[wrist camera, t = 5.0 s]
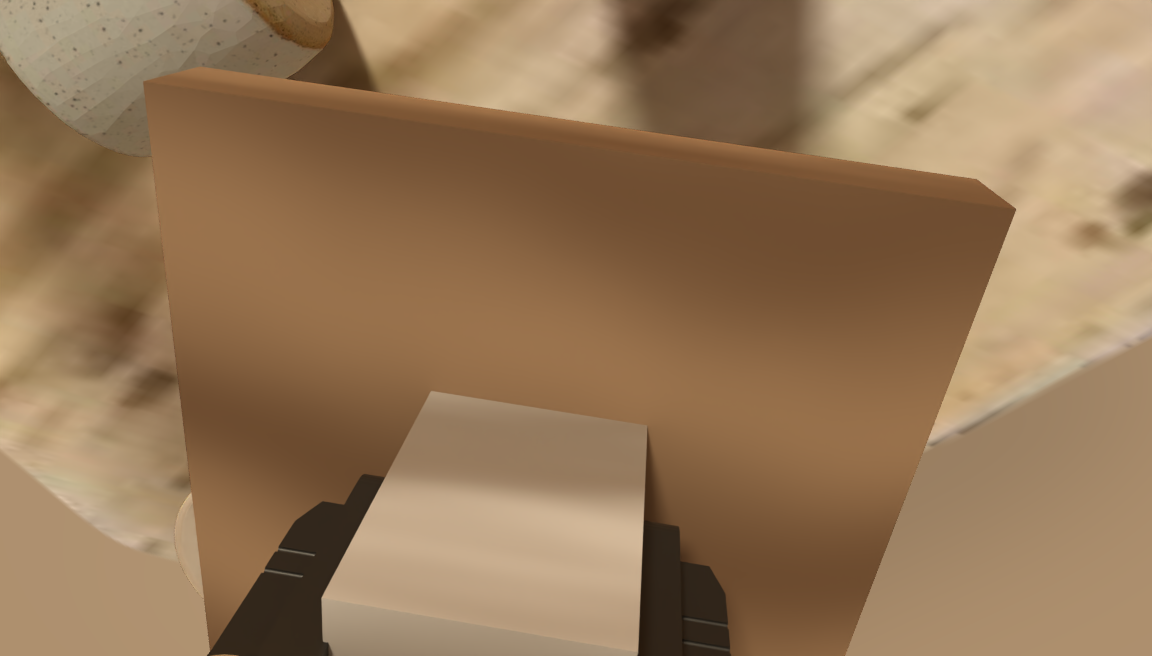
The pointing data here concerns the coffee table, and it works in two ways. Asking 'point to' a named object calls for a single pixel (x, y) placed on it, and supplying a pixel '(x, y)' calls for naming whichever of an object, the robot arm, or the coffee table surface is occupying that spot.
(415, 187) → the walnut lid
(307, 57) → the ceramic mug
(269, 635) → the robot arm
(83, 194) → the coffee table surface
